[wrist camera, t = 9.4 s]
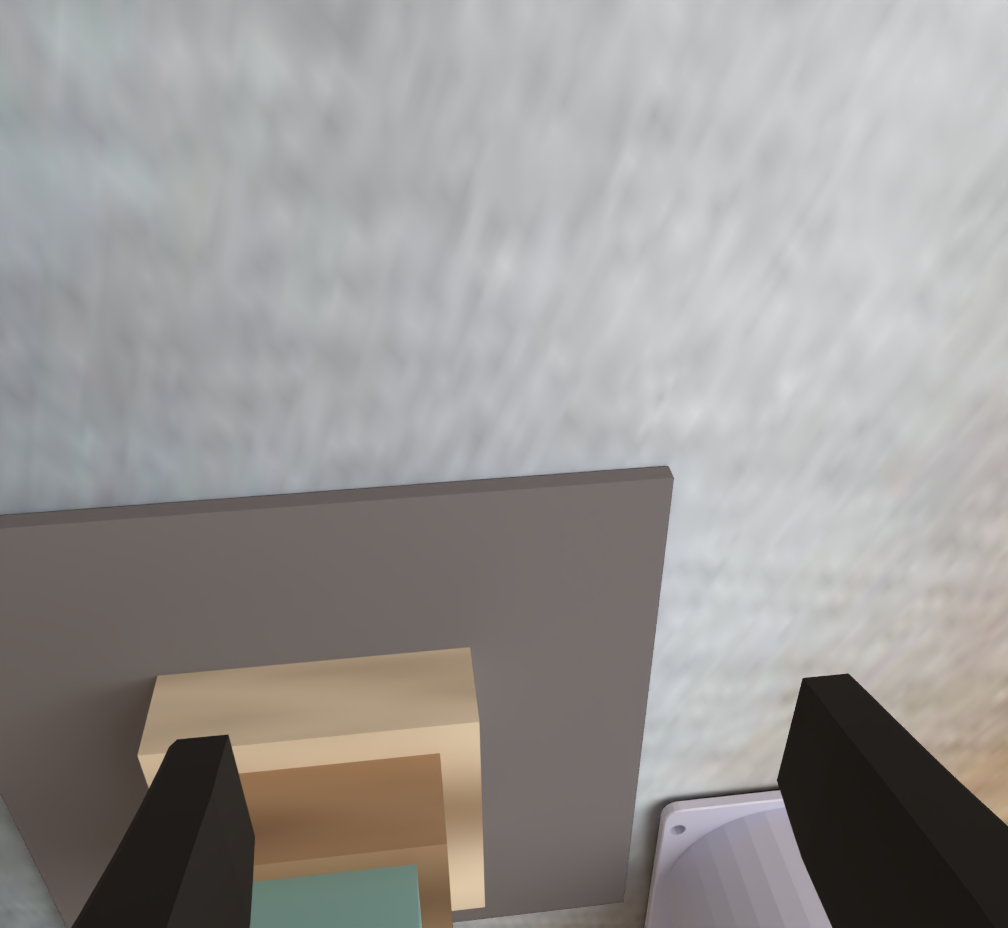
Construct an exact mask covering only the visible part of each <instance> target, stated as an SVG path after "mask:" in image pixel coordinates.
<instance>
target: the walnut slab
mask: <svg viewBox="0 0 1008 928" xmlns="http://www.w3.org/2000/svg"><path fill="white" fill-rule="evenodd" d="M239 777H240V781H241V784H242V788H243V792H244V796H245V800H246V804H247V807H248V811H249V815H250V819H251V823H252V827H253V830H254V834H255V850H254V871H253V882H257V881H266V880H276V879H285V878H294V877H303V876H312V875H321V874H331V873H340V872H349V871H358V870H367V869H376V868H385V867H395V866H404V865H413V864H416V865H417V876H418V888H419V899H420V910H421V921H422V928H453V924H452V909H451V894H450V879H449V864H448V850H447V836H446V823H445V810H444V797H443V784H442V772H441V759H440V753H436V754H426V755H417V756H407V757H397V758H387V759H377V760H368V761H358V762H348V763H338V764H328V765H319V766H309V767H299V768H289V769H279V770H270V771H260V772H250V773H240V774H239Z"/></svg>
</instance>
